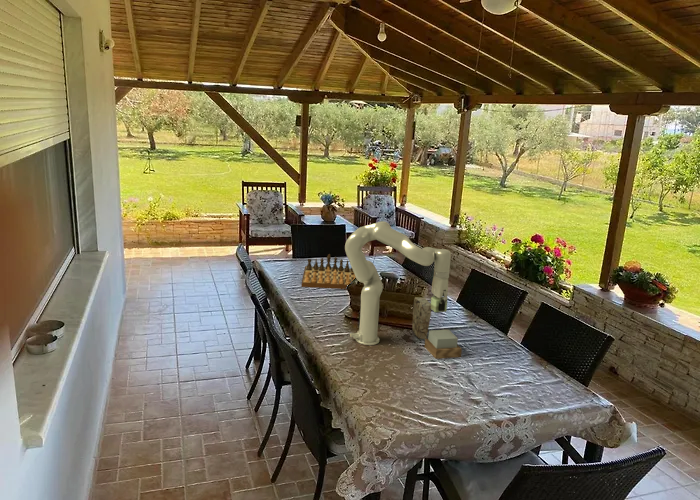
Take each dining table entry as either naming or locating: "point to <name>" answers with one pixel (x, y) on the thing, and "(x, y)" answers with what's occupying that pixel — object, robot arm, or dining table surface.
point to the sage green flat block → (443, 339)
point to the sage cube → (437, 304)
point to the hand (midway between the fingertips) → (438, 307)
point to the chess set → (327, 275)
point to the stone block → (421, 317)
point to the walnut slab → (442, 351)
